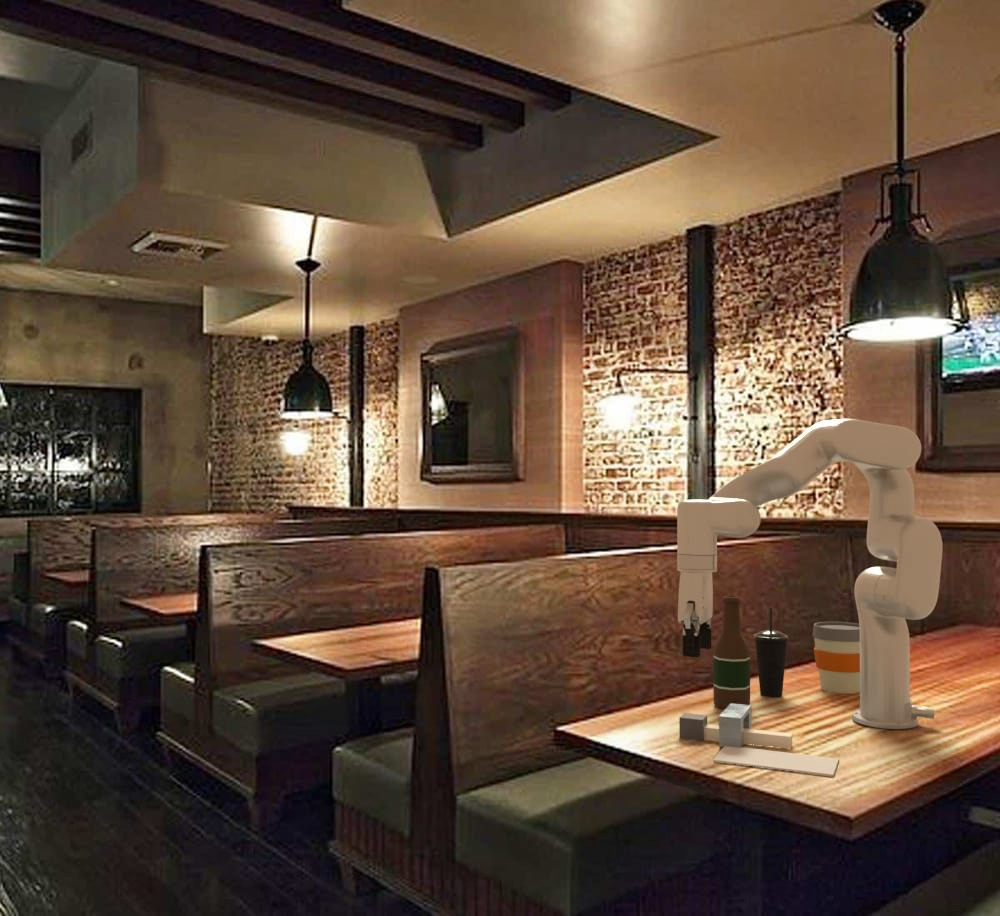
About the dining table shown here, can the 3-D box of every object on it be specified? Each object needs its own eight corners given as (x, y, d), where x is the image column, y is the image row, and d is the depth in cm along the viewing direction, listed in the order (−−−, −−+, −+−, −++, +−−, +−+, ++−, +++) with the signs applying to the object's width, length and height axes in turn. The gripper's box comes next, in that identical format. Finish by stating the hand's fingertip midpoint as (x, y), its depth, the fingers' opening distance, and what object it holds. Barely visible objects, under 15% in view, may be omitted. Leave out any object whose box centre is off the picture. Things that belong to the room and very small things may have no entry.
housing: (751, 735, 186) (751, 705, 186) (740, 750, 176) (740, 718, 176) (730, 732, 188) (730, 703, 188) (719, 747, 178) (718, 716, 178)
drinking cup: (749, 691, 224) (748, 605, 224) (781, 691, 224) (780, 605, 225) (760, 699, 216) (760, 610, 216) (793, 698, 217) (793, 609, 217)
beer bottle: (751, 712, 204) (750, 599, 205) (713, 710, 206) (713, 598, 206) (749, 703, 212) (748, 594, 212) (713, 701, 214) (712, 593, 214)
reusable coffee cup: (852, 698, 217) (851, 631, 217) (802, 688, 227) (802, 625, 227) (879, 689, 226) (878, 625, 226) (830, 681, 235) (830, 619, 235)
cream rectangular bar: (792, 745, 179) (792, 723, 180) (790, 751, 176) (789, 729, 176) (684, 733, 188) (684, 712, 188) (679, 738, 184) (679, 717, 184)
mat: (838, 760, 169) (838, 758, 169) (833, 777, 160) (833, 774, 160) (725, 747, 178) (725, 745, 178) (713, 762, 169) (713, 759, 169)
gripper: (688, 559, 195) (688, 643, 195) (666, 566, 179) (666, 658, 179) (725, 560, 192) (725, 646, 192) (706, 568, 176) (706, 662, 176)
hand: (697, 652), depth 185 cm, fingers open, 9 cm apart
